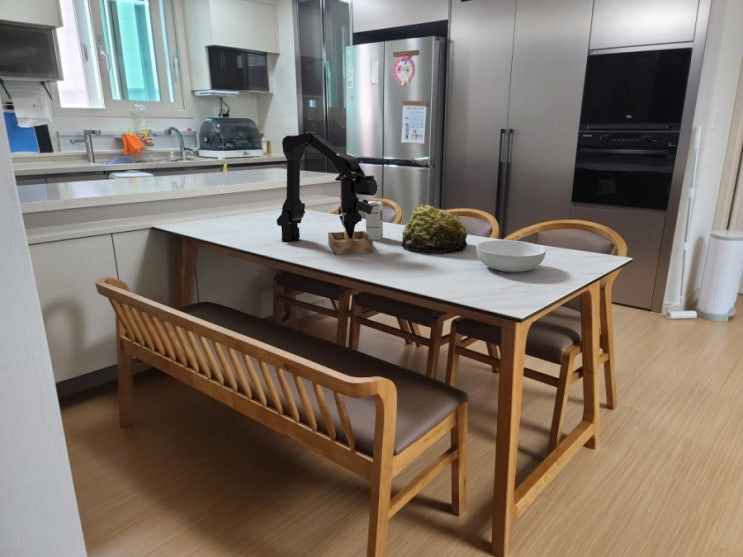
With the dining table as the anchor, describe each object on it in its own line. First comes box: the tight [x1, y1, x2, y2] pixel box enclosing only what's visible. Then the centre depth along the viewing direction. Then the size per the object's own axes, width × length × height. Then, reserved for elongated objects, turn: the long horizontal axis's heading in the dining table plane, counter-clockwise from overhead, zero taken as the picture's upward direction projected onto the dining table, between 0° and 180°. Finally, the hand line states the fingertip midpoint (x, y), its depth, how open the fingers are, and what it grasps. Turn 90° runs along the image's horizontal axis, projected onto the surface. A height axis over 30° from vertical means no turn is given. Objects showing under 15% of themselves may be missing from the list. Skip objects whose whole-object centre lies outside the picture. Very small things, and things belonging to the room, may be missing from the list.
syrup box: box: [365, 200, 384, 241], centre depth 201 cm, size 6×6×14 cm
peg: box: [343, 227, 355, 241], centre depth 186 cm, size 4×4×9 cm
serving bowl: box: [475, 239, 547, 273], centre depth 159 cm, size 21×21×7 cm
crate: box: [327, 230, 374, 255], centre depth 187 cm, size 14×17×4 cm
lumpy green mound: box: [401, 204, 468, 254], centre depth 187 cm, size 25×24×16 cm
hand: (349, 237), depth 186 cm, fingers open, 5 cm apart
